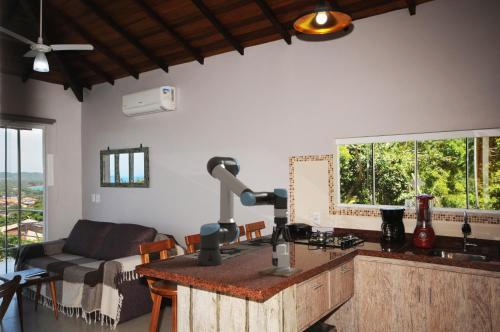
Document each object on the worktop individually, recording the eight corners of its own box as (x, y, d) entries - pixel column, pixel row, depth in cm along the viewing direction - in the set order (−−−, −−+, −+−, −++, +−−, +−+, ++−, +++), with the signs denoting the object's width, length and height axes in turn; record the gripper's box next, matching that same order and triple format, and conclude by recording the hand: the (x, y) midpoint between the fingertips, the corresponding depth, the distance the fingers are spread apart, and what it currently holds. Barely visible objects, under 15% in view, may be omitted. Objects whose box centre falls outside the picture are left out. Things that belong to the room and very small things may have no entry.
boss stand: (258, 273, 197) (258, 267, 197) (274, 266, 212) (274, 261, 213) (288, 277, 188) (288, 271, 188) (302, 270, 203) (302, 265, 203)
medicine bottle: (271, 265, 202) (271, 243, 203) (283, 264, 205) (283, 242, 206) (277, 268, 196) (277, 245, 196) (289, 267, 198) (289, 244, 199)
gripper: (276, 218, 189) (276, 260, 188) (296, 215, 210) (296, 252, 209) (263, 218, 193) (263, 258, 192) (284, 214, 214) (285, 251, 213)
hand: (281, 255), depth 200 cm, fingers open, 13 cm apart
